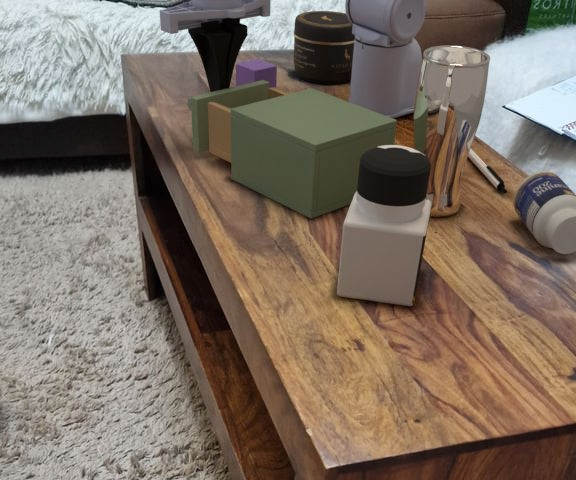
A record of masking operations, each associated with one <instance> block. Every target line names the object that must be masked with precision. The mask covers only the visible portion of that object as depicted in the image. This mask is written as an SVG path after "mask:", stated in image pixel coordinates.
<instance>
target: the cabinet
mask: <svg viewBox="0 0 576 480" xmlns="http://www.w3.org/2000/svg"><path fill="white" fill-rule="evenodd" d="M347 101H348V100H345V99H341V98H340V97H336V96H334V95H331V94H329V93H326V92H324V91H321V90H317V89H315V88H312V87H311V88H307V89H304V90H300V91H296V92H290V93H289V94H287V95H283V96H279V97H275V98H271V99H267V100H263V101H259V102H255V103H252V104H248V105H244V106H240V107H236V108H232V109H231V163H230V165H231V167H230V169H231V171H230V173H231V175H230V178H231V180H233V181H234V182H237V183H238V184H241V185H243V186H244V187H246V188H249V189H250V190H252V191H254V192H257V193H259V194H261V195H262V196H265V197H266V198H269V199H271V200H272V201H275V202H277V203H279V204H281V205H283V206H285V207H287V208H288V209H291V210H293V211H295V212H297V213H299V214H300V215H303V216H304V217H307V218H309V219H311V220H312V219H315V218H317V217H320V216H323V215H325V214H328V213H331V212H333V211H336V210H339V209H341V208H344V207H347V206H350V205H351V202H352V199H353V197H354V194H355V192H357V184H358V175H359V165H360V158H361V156H362V155H363V154H364V153H365V152H366V151H368V150H370V149H372V148H376V147H379V146H384V145H395V142H396V141H395V140H396V135H397V125H398V120H397V119H396V118H393V119H392V118H390V117H387V116H384V115H382V114H379V113H376V112H374V111H371V110H368V109H366V108H363V107H360V106H358V105H355V104H352V103H350V102H347Z"/></svg>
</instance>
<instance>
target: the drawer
mask: <svg viewBox="0 0 576 480" xmlns="http://www.w3.org/2000/svg"><path fill="white" fill-rule="evenodd" d="M269 87H270V82H267V81H265V80H261V81H257V82H252V83H248V84H244V85H239V86H236V85H235V86H230V88H227V89H222V90H218V91H214V92H210V91H209V92H206V93H200V94H197V95H193V96H190V97H188V99H187V103H186V104H187V107H188V109H189V111H191V131H192V150H193V151H195V152H197V153H202V152H206V151H208V152H209V153H210V154H212V155H214V156H216V157H218V158H220V159H222V160H224V161H226V162H228V163H230V164H231V109H232V108H236V107H240V106H244V105H248V104H252V103H255V102H259V101H263V100H267V99H271V98H275V97H279V96H283V95H287V94H290V93H289V92H286V91H284V90H281V89H278V88H277V87H276V88H274V87H271V88H269Z"/></svg>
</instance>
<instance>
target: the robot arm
mask: <svg viewBox="0 0 576 480" xmlns="http://www.w3.org/2000/svg"><path fill="white" fill-rule="evenodd" d="M344 3H345V4H344V5H345V7H344V8H345V13H346V15H347V18H348V20H349V21H350V23H351V24H352V25H353V27H352V34H354V35H355V39H354V51H353V62H352V73H351V79H350V85H349V97H348V98H349V99H348V100H346V101H347V102H350V103H352V104H355V105H358V106H360V107H363V108H366V109H368V110H371V111H374V112H376V113H379V114H382V115H384V116H387V117H390V118H392V119H396V118H399V117H404V116H406V115H410V114H414V103H415V95H416V89H417V83H418V78H419V73H420V69H421V64H422V59H423V53H422V49H421V45H420V44H419V43H418V40H416V38H415V37H416V36H417V35H418V33H419V32H420V31H421V28H422V27H423V24H424V22H425V19H426V15H427V14H426V13H427V0H345V2H344ZM270 16H271V0H189V1H185V2H183V3H180V4H178V5H175V6H172V7H169V8H165V9H163V8H162V9H160V10H159V24H160V30H161V31H163V32H164V33H168V34H170V35H175V34H178V33H179V31H185V30H187V33H188V35H189V36H190V38H191V40H192V42H193V43H194V46H195V48H196V51H197V53H198V54H199V57H200V60H201V64H202V66H203V69H204V72H205V76H206V80H207V84H208V88H209V92H214V91H218V90H222V89H227V88H231V82H232V78H233V73H234V69H235V67H236V62H237V59H238V56H239V53H240V50H241V49H242V46H243V44H244V42H245V41H246V40H247V39H246V38H247V37H248V25H247V24H244V23H242V22H241V20H244V19H251V18H258V17H263V18H268V17H270Z"/></svg>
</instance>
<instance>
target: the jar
mask: <svg viewBox="0 0 576 480" xmlns="http://www.w3.org/2000/svg"><path fill="white" fill-rule="evenodd" d="M294 19H295V20H294V31H293V37H294V39H293V43H294V44H293V64H294V65H293V66H294V71H295V73H296V74H297V76H298V78H300V79H302V80H304V81H307V82H311V83H314V84H323V85H329V84H330V85H335V84H343V83H346V82H349V81H351V73H352V62H353V51H354V39H355V35H354V34H352V27H353V25H352V24H351V23H350V21H349V20H348V18H347V15H346V12H341V11H333V10H332V11H331V10H312V11H306V12H301V13H299V14H298V15H297V16H295V18H294Z"/></svg>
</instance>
